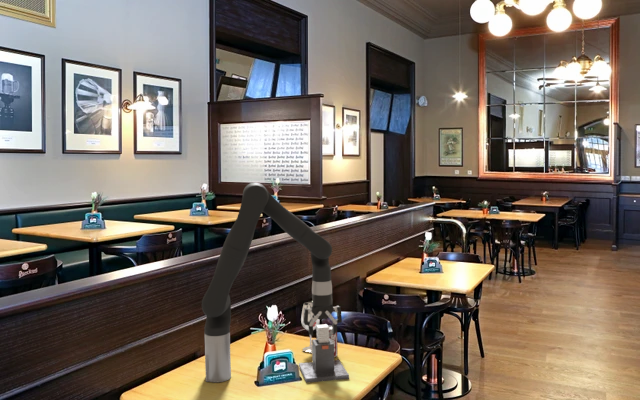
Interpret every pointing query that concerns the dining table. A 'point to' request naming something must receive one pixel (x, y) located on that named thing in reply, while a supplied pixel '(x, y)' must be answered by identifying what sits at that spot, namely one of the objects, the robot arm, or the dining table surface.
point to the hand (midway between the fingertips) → (322, 334)
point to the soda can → (333, 340)
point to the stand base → (323, 364)
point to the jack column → (322, 334)
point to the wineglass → (308, 306)
